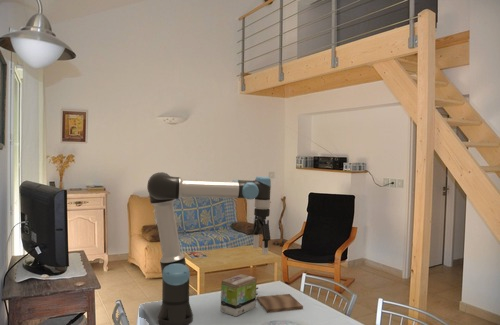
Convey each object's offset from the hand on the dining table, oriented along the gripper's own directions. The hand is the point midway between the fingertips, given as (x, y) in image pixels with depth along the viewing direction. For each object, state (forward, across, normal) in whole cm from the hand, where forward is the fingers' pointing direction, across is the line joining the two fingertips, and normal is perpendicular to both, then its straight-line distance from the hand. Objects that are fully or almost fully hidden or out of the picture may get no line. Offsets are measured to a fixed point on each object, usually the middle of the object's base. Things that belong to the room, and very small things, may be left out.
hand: (260, 250), depth 198 cm
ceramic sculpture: (+26, +14, +3) cm, 30 cm away
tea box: (+26, -5, +12) cm, 29 cm away
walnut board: (+26, -4, -9) cm, 28 cm away
